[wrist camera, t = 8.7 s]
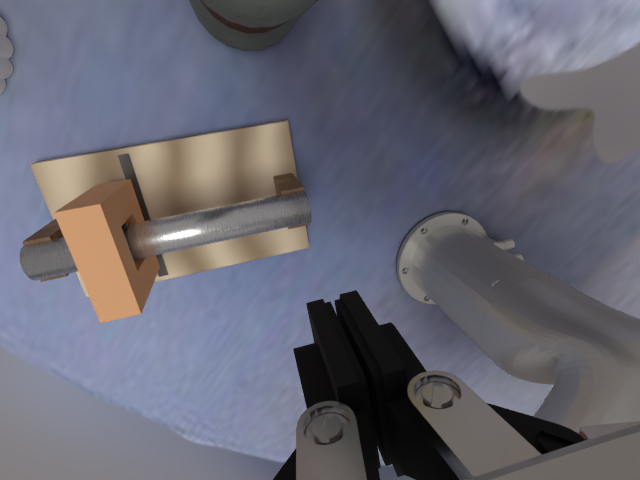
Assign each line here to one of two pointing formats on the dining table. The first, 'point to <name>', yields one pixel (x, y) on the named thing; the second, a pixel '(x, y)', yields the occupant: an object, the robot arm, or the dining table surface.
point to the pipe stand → (187, 188)
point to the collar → (108, 249)
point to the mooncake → (5, 55)
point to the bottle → (249, 20)
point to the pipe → (179, 232)
